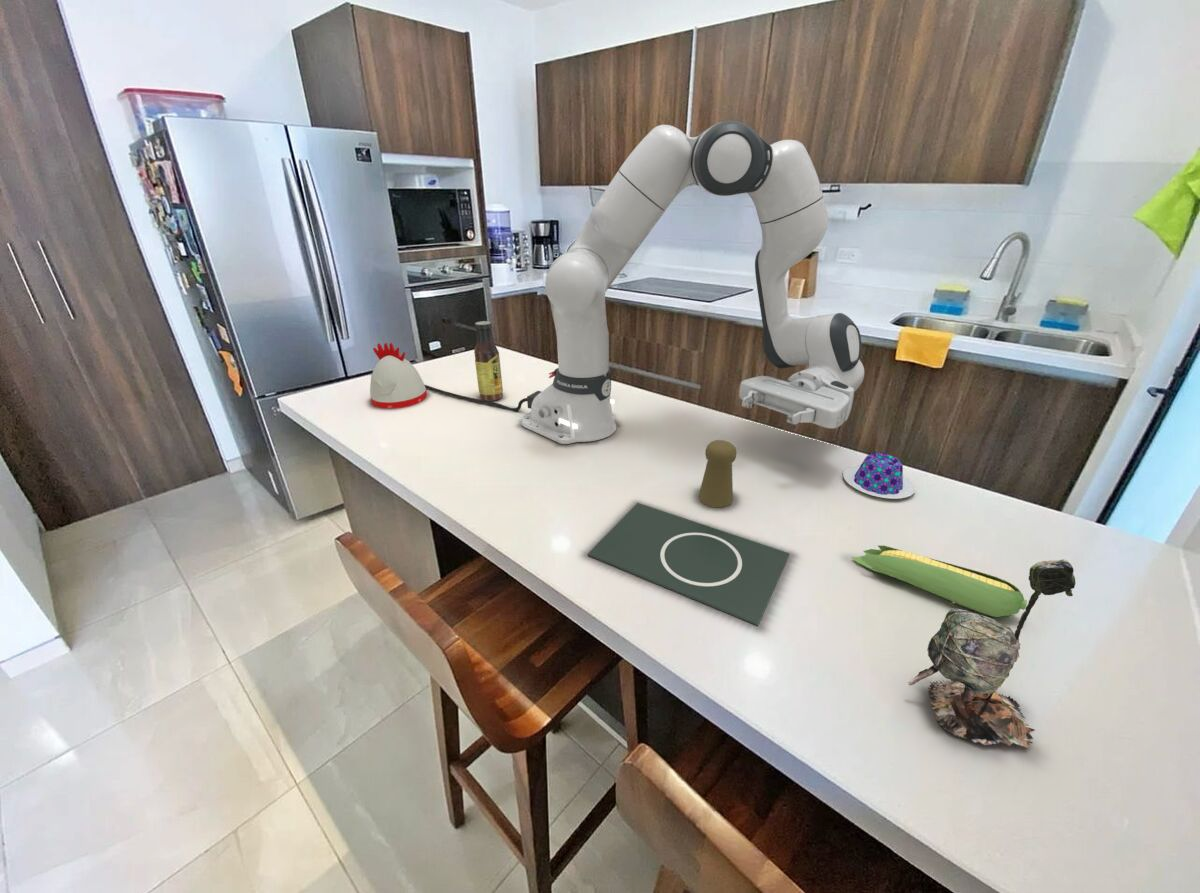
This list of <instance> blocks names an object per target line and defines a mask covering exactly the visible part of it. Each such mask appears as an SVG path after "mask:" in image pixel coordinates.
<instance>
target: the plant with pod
mask: <svg viewBox="0 0 1200 893" xmlns="http://www.w3.org/2000/svg"><path fill="white" fill-rule="evenodd" d="M1074 571H1075V569H1074V568H1073V566H1072V564H1071V563H1070V562H1069V561H1068V560H1067V559H1056V560H1055V559H1053V560H1052V559H1051V560H1042V561H1039V562H1038V561H1037V562H1036V563H1035V564H1033V565H1031V567H1030V568H1029V573H1028V574H1029V575H1028V581H1029V586H1030V588H1031V589H1032V590H1033V591H1034V592H1033V593H1032V594H1031V596H1030V597H1029V600H1028V602H1027V605H1026V608H1025V610H1023V612H1022V614H1021V617H1020V619H1019V620H1018V623H1017V625H1016V630H1015V631H1013V629H1012V628H1011V627H1009V626H1006V625H1005V624H1002V623H1000V622H999V621H998V620H995V619H994V618H991V617H990V616H989V617H988V616H987V615H984V614H981V613H976V612H974V611H969V610H967V609H960V608H950V610H949V611H948V612H946V614H945V617H944V619H943V622H942V623H941V625H940V628H939V629H938V631H937V632H936V633H934V635H933V636H932V637H931V638H930V640H929V642H928V644H927V650H926V651H927V656H928V658H929V659H930V661H931V662H932V665H931V666H930V667H929V668H925V669H923V670H921V671H919V672H918V674H917V675H916V676H915V677H913V678H912V679H910V681H907V685H908V686H913V685H915V684H916V683H918V682H920V681H921V680H924V679H926V678H928V677H930V676H933V675H934V674H937V673H938V672H939V673H940V674H941V675H942V676H943V677H944V678H945V679H947V680H946V681H945V680H944V679H942V681H941V679H940V680H939V679H938V680H936V681H929V683H930V684H929V687H927V688H928V692H929V694H928V695H929V696H930V705H933V707H932V708H931V709H932V710H933V713H934V714H935V718H936V719H935V720H936V722H937V721H938V725H940V726H942V728H943V730H945V731H947V732H949V734H951V735H952V736H955V737H957V736H958V737H959V738H962V739H965V740H967V739H968V740H969V741H972V742H973V743H980V744H981V745H984V746H986V745H987V746H989V745H992V744H993V745H999V744H1000V743H1002V744H1005V745H1006V746H1009V747H1011V746H1012V745H1013V744H1015V745H1017V746H1021V747H1024V748H1026V749H1029V748H1030V746H1031V745H1032V744H1033V741H1031V740H1033V739H1034V737H1033V736H1032V735H1031V734H1030V733H1033V732H1035V731H1036V729H1035V728H1031V727H1030V724H1028V723H1027V721H1026V720H1025V719H1027V718H1026V717H1025V715H1023V712H1022V708H1020V707H1021V704H1020V703H1019V702H1018V701H1017V700H1015V699H1014V698H1013V697H1011V696H1010V695H1008V696H1007V695H1004V694H1003V693H1002V694H1001V693H998V692H997V691H998V689H999V688H1001V687H1002V685H1003V684H1004V682H1005V681H1006V679H1008V678H1009V677H1010V672H1011V670H1012V669H1013V668H1014V665H1015V663H1016V662H1017V661H1018V659H1019V658H1020V652H1019V650H1020V649H1021V643H1020V639H1019V638H1020V635H1021V631H1022V629H1023V627H1024V624H1025V622H1026V621H1027V618H1028V616H1029V615H1030V613H1031V610H1032V608H1034V605H1035V604H1036V603H1037V601H1038V599H1039V598H1040V596H1041V595H1043V596H1053V595H1056V594H1061V593H1065V595H1066V596H1067V597H1073V596H1074V594H1073V589H1075V586H1076V584H1077V582H1076V576H1075V575H1074ZM955 602H956V601H952V602H951V603H952V604H956V603H955Z"/></svg>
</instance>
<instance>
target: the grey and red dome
mask: <svg viewBox="0 0 1200 893" xmlns="http://www.w3.org/2000/svg"><path fill="white" fill-rule="evenodd" d="M376 345H377V346H376V347H377V348H376V347H373V348H372V350H373V353H374V354H375V355H376V357H377V358H378V359H379V360H378V362H377V363H376V365H375V366H374V369H373V370H372V373H371V377H370V384H369V394H370V401H371V404H372V405H373V406H374V407H377V408H379V409H400V408H406V407H410V406H414V405H417V404H419V403H421V402H423V401H424V400H426V398H427V396H428V394H427V388H425V385H426V384H425V383H424V380H423V379H422V377H421V375H420V373H419V372H418V370H417V368H416V367H415V366H414V365H413V364H412V363H411V362H410V361H409V360H407V358H405V356H406V351H404V352H402V353H401V354H400V347H396V348H395V347H394V343H393V342H391V343H389V344H388V343H387V342H385V343H383V346H382V345H381V343H377V344H376ZM388 345H389V346H388Z"/></svg>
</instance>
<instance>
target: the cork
mask: <svg viewBox="0 0 1200 893" xmlns="http://www.w3.org/2000/svg"><path fill="white" fill-rule="evenodd" d="M704 451H705V452H704V454H705V459H706V460H707V462H706V466H705V470H704V472H703V477H702V481H701V485H700V490H699V492H698V500H699V501H700V503H702V504H704V505H705V506H708V507H710V508H715V509H716V508H717V509H718V508H719V509H723V508H727V507H729V506H731V505H732V504H733V500H734V488H733V486H734V485H733V463H734V462H735V460H736V458H737V454H738V451H737V448H736V445H734V444H733V443H732V442H730V441H728V440H724V439H715V440H713V441H710V442H708V444H707V445H706V448H705V450H704Z"/></svg>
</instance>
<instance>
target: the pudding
mask: <svg viewBox="0 0 1200 893" xmlns="http://www.w3.org/2000/svg"><path fill="white" fill-rule="evenodd" d="M842 477H843V479H844V480H845V482H846V483H847V484H848V485H850V486H851V487H852V488H853V489H856V490H858V491H859V492H862V493H864V494H867V495H870V496H873V497H877V498H882V499H883V498H884V499H891V500H892V499H894V500H895V499H897V500H898V499H905V498H909V497H910V496H912V495H913V494H914V493H915V492H916V486H915V484H914V482H913V481H912V480H911V479H910V478H909V477H907V476H906V475H904V467H903V463H902V462H901V461H900V459H899V458H897V457H895V456H892V455H890V454H887V453H880V452H873V453H870V454H868V455H866V456H865V458H864V459H863V461H862V463H860V464H853V465H850V466H848V467H847V468H845V469H844V470H843V472H842Z"/></svg>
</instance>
